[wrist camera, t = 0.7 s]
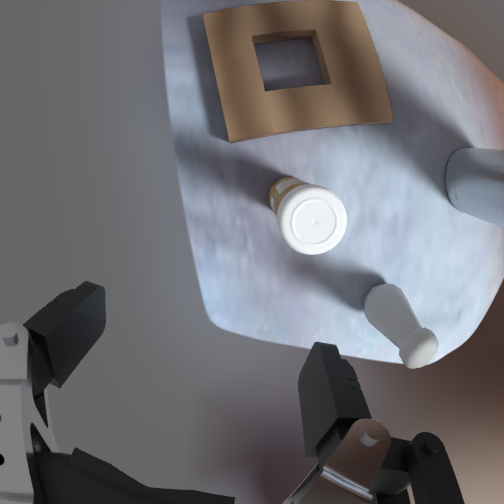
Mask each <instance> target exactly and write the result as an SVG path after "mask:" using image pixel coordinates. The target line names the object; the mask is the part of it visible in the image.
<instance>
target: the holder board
mask: <svg viewBox="0 0 504 504" xmlns="http://www.w3.org/2000/svg"><path fill="white" fill-rule="evenodd" d="M202 15H203V19H204V24H205V29H206V34H207V38H208V43H209V48H210V52H211V57H212V62H213V66H214V71H215V76H216V81H217V85H218V90H219V95H220V99H221V104H222V109H223V113H224V118H225V123H226V128H227V132H228V137H229V142H231V143H235V142H240V141H245V140H250V139H255V138H261V137H266V136H272V135H278V134H284V133H290V132H297V131H304V130H312V129H320V128H329V127H339V126H350V125H363V124H381V123H388V122H392V121H394V117H393V112H392V108H391V103H390V99H389V95H388V91H387V87H386V83H385V79H384V76H383V72H382V69H381V65H380V62H379V59H378V56H377V53H376V50H375V47H374V44H373V41H372V38H371V35H370V32H369V30H368V27H367V24H366V22H365V19H364V17H363V14H362V12H361V10H360V7H359V5H358V3H357V2H349V1H326V0H308V1H285V2H272V3H263V4H255V5H248V6H241V7H235V8H230V9H224V10H219V11H215V12H210V13H206V14H202ZM306 38H311V39H312V42H313V45H314V48H315V52H316V55H317V58H318V62H319V65H320V69H321V73H322V76H323V80H324V84H325V85H313V86H303V87H294V88H286V89H279V90H272V91H265V89H264V85H263V80H262V76H261V72H260V68H259V64H258V60H257V56H256V52H255V48H254V44H258V43H265V42H273V41H282V40H292V39H306Z"/></svg>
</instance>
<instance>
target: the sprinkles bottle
mask: <svg viewBox="0 0 504 504" xmlns="http://www.w3.org/2000/svg"><path fill="white" fill-rule="evenodd" d="M269 203H270V206H271V207H272V209H273V211H274V213H275V215H276V217H277V223H278V227H279V230H280V232H281V234H282V236H283V238H284V240H285V241H286V242H287V244H288V245H289V246H290V247H291V248H293V249H294V250H296V251H298V252H300V253H304V254H309V255H315V254H321V253H324V252H326V251H328V250H330V249H332V248H333V247H334V246H335V245H336V244H337V243H338V242H339V241H340V240H341V238H342V237H343V234H344V232H345V229H346V224H347V215H346V210H345V207H344V205H343V203H342V202H341V200H340V199H339V198H338V196H337V195H335V194H334V193H333V192H331V191H330V190H328V189H326V188H324V187H321V186H318V185H314V184H309V183H306V182H304V181H301V180H299V179H297V178H294V177H284V178H281V179H279V180H278V181H277V182H275V183H274V184H273V185H272V187H271V188H270V191H269Z"/></svg>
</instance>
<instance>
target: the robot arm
mask: <svg viewBox="0 0 504 504" xmlns="http://www.w3.org/2000/svg"><path fill="white" fill-rule="evenodd" d="M445 183H446V190H447V193H448V197H449V199H450V201H451V203H452V204H453V206H454V207H455V208H456V209H457V210H459V211H461V212H463V213H466V214H469V215H471V216H474V217H477V218H479V219H482V220H485V221H487V222H490V223H492V224H495V225H497V226H500V227H502V228H504V150H493V149H478V148H461V149H458V150H457V151H455V152H454V153H453V155H452V156H451V157H450V160H449V162H448V165H447V168H446V175H445ZM105 324H106V311H105V289H104V287H102V286H99V285H97V284H94V283H91V282H88V281H85V282H84V283H82V284H81V285H79V286H78V287H77V288H76V289H71V290H68V291H65V292H63V293H61V294H59V295H58V296H57V297H56V298H54V299H53V301H51V302H50V303H48V304H47V305H46V307H43V308H42V309H41V310H40V311H38V312H37V313H36V314H35V315H34V316H32V317H31V318H30V319H29V320H28V321H27V322H25V323H24V324H23V325H21V324H17V323H6V324H3V325H1V326H0V504H234V502H235V497H228V496H222V495H216V494H210V493H205V492H200V491H195V490H177V489H160V488H151V487H147V486H145V485H143V484H141V483H139V482H138V481H136V480H135V479H133V478H131V477H129V476H128V475H126V474H125V473H123V472H122V471H120V470H119V469H117V468H116V467H114V466H113V465H111V464H110V463H107V462H105V461H102V460H100V459H98V458H96V457H94V456H92V455H90V454H88V453H86V452H84V451H81V450H79V449H78V448H75V449H74V451H73V453H72V455H70V454H65V453H59V450H58V447H57V444H56V442H55V440H54V436H53V433H52V428H51V421H50V414H49V406H48V398H47V391H46V387H47V385H48V384H49V383H51V384H52V385H54V386H56V387H58V388H61V386H62V385H63V384H64V382H65V381H66V380H67V378H68V377H69V376H70V374H71V373H72V372H73V370H74V369H75V368H76V366H77V365H78V364H79V363H80V361H81V360H82V359H83V358H84V356H85V355H86V354H87V353H88V351H89V350H90V349H91V347H92V346H93V345H94V344H95V342H96V341H97V340H98V339H99V338H100V336H101V335H102V333H103V331H104V329H105ZM357 380H358V378H357V376H356V373H355V371H354V369H353V367H352V366H351V365H350V364H349V363H348V362H347V360H345V359H341V357H340V354H339V351H338V348H337V346H336V345H334V344H327V343H321V342H315V343H314V345H313V347H312V349H311V351H310V353H309V356H308V357H307V360H306V362H305V364H304V366H303V368H302V370H301V373H300V375H299V380H298V390H299V399H300V407H301V416H302V424H303V434H304V443H305V453H306V457H317V458H318V464H317V465H316V466H315V467H314V469H313V470H312V471H311V472H310V473H309V475H308V476H307V477H306V478H305V480H304V481H303V482H302V483H301V484H300V485H299V486H298V488H297V489H296V490H295V491H294V492H293V493H292V494H291V495H290V497H289V498H288V499H287V500H286V501H285V502H284V503H283V504H410V500H409V495H408V491H407V487H409V486H410V485H411V487H412V491H413V496H414V500H415V504H464V501H463V498H462V494H461V491H460V488H459V485H458V482H457V479H456V476H455V473H454V471H453V468H452V466H451V463H450V460H449V457H448V455H447V452H446V450H445V447H444V445H443V443H442V442H441V440H440V439H439V438H438V437H437V436H435V435H434V434H432V433H428V432H422V433H419V434H417V435H416V436H415V437H414V438H413V439H412V440H411V441H407V440H403V439H398V438H393V437H391V435H390V433H389V431H388V429H387V428H386V427H385V426H384V425H383V424H382V423H380V422H378V421H376V420H373V419H372V418H371V415H370V412H369V409H368V406H367V404H366V401H365V398H364V395H363V392H362V390H360V389H361V387H360V384H359V382H358V381H357Z"/></svg>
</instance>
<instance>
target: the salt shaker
mask: <svg viewBox="0 0 504 504" xmlns="http://www.w3.org/2000/svg"><path fill="white" fill-rule="evenodd" d="M365 316H366V318H367V319H368V321H369V323H370V324H372V325H373V326H374V327H375V328H376V329H377V330H379V331H380V332H381V333H382V334H383V335H384V336H386V337H387V338H388V339H389V340H390V341H391V342H392V343H394V344H395V345H396V346H397V347H398V348H399V355H400V357H401V359H402V361H403V363H404V365H406V366H407V367H409V368H412V369H413V368H419V367H422V366H424V365H426V364H427V363H428V362H430V361H431V360H432V359H433V357H434V356H435V354H436V352H437V348H438V344H439V343H438V340H437V338H436V336H435V334H434V333H433V332H432V331H431V330H429V329H427V328H425V327H424V328H422V327H421V325H420V323H419V321H418V319H417V317H416V315H415V314H414V312H413V310H412V308H411V306H410V304H409V303H408V301H407V299H406V297H405V295H404V293H403V291H402V290H401V289H400V288H398V287H396V286H395V285H393V284H381V285H377V286H373V287H372V288H371V290H370V291H369V293H368V294H367V296H366V297H365Z"/></svg>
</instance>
